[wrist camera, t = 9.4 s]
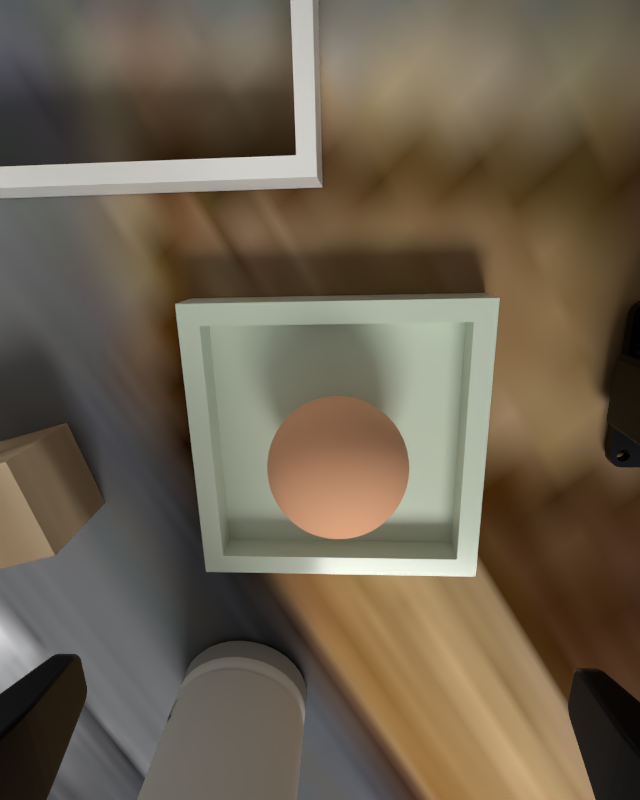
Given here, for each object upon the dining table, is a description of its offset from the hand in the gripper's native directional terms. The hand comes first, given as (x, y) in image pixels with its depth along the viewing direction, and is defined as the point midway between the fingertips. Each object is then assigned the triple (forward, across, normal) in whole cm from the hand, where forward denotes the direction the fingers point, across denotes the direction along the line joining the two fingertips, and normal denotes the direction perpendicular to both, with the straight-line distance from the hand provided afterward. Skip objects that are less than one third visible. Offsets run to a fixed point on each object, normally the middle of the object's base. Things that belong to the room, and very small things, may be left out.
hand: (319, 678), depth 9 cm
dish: (+12, 0, 0) cm, 12 cm away
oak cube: (+12, +13, +2) cm, 18 cm away
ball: (+11, 0, 0) cm, 11 cm away
